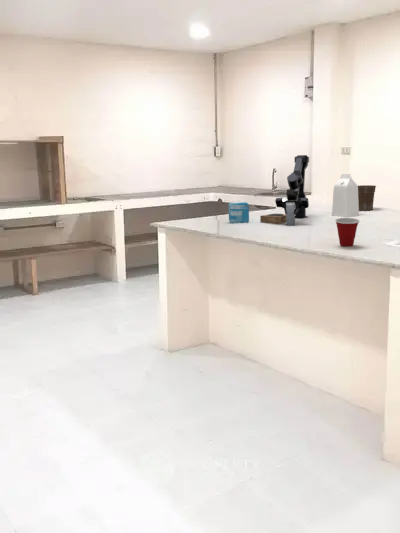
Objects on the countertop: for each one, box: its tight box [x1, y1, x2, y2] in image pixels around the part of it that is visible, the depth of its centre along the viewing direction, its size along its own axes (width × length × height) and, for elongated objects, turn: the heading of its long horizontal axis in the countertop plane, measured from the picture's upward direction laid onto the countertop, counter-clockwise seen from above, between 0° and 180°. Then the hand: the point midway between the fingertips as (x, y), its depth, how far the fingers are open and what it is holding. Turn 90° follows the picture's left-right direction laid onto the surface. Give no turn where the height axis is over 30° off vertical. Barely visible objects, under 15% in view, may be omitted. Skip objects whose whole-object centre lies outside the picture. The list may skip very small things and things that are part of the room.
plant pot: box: [357, 184, 377, 212], centre depth 382 cm, size 16×16×16 cm
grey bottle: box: [286, 202, 296, 227], centre depth 327 cm, size 5×5×13 cm
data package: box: [228, 201, 250, 224], centre depth 346 cm, size 12×4×12 cm, turn 92°
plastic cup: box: [334, 217, 360, 247], centre depth 258 cm, size 11×11×12 cm
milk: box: [331, 173, 360, 218], centre depth 357 cm, size 12×12×26 cm
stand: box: [259, 213, 286, 225], centre depth 343 cm, size 13×13×4 cm
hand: (290, 214), depth 326 cm, fingers closed on grey bottle, 5 cm apart
